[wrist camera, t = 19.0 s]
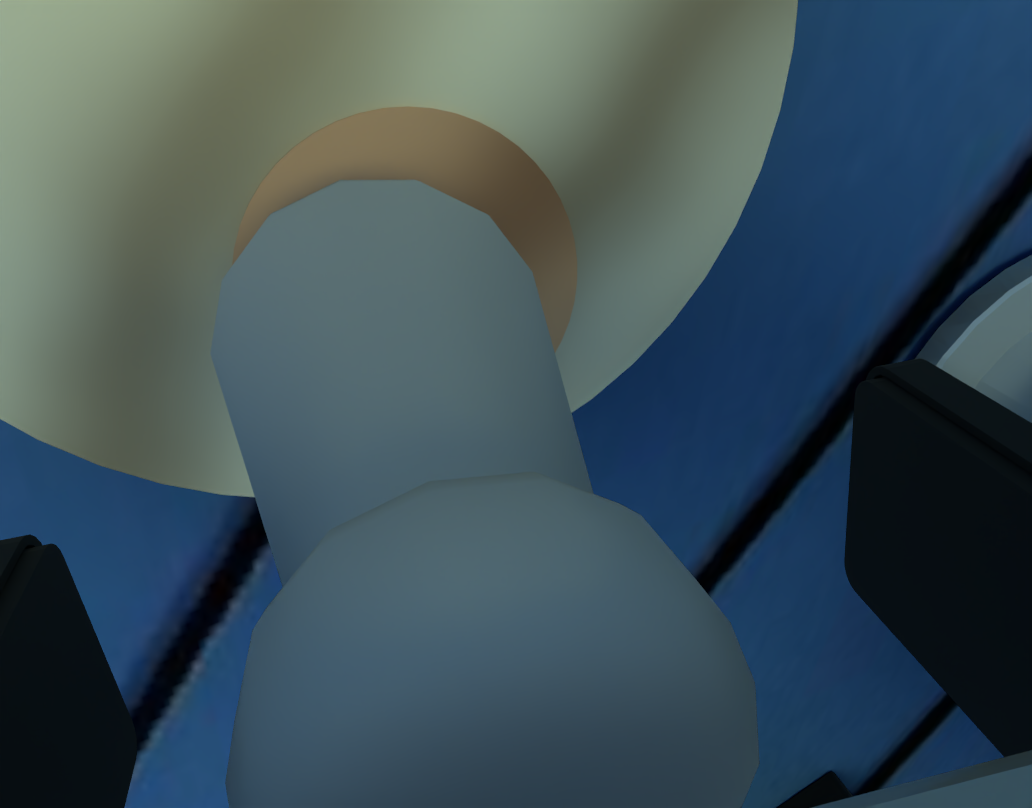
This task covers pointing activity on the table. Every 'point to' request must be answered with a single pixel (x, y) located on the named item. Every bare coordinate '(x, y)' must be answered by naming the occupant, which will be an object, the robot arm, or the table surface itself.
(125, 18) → the dial
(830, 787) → the digital camera
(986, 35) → the table surface
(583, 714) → the salt shaker
